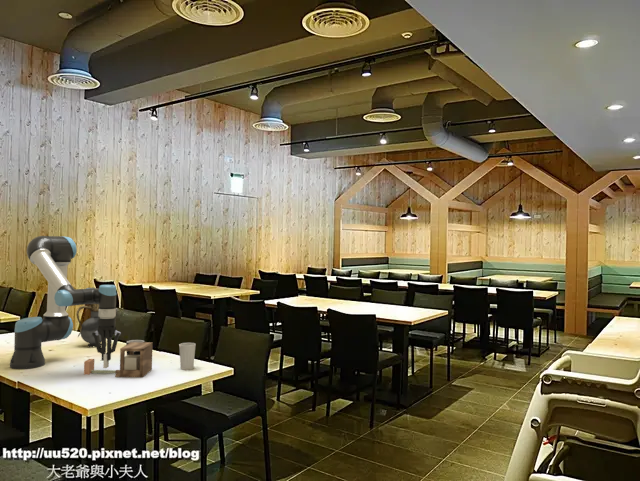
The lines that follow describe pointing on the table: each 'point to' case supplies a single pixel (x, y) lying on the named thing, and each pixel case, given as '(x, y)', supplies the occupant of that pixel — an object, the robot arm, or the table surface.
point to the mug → (134, 351)
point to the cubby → (145, 359)
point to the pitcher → (90, 325)
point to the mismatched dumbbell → (130, 364)
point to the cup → (187, 355)
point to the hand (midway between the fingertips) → (105, 367)
